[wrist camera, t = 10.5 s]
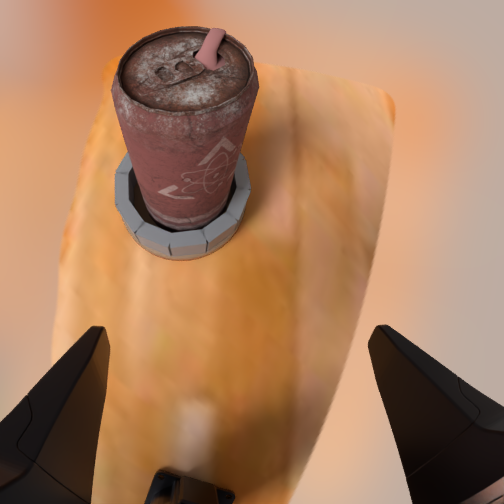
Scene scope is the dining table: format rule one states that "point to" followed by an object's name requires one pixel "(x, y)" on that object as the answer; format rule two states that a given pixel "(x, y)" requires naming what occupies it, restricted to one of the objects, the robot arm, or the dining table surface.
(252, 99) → the can
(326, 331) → the dining table surface
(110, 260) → the dining table surface
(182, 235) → the segmented gray ring
